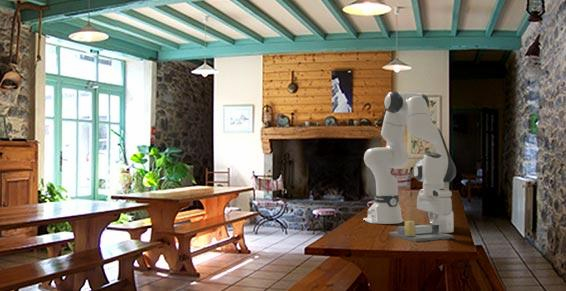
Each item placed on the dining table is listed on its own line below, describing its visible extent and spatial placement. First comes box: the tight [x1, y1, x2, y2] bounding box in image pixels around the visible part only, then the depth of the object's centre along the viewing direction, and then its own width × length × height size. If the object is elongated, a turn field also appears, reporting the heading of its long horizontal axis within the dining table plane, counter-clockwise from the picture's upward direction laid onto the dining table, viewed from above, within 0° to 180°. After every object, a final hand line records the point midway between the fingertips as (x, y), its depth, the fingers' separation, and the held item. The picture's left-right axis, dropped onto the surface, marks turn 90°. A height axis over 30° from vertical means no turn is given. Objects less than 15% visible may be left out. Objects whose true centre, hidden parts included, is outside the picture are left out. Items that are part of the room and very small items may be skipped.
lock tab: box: [404, 220, 416, 236], centre depth 232 cm, size 3×3×6 cm
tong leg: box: [415, 223, 439, 234], centre depth 239 cm, size 12×2×3 cm, turn 109°
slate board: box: [388, 230, 454, 242], centre depth 238 cm, size 20×19×1 cm
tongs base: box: [397, 223, 433, 236], centre depth 239 cm, size 6×17×3 cm, turn 111°
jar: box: [432, 207, 455, 234], centre depth 251 cm, size 9×8×12 cm
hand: (433, 223), depth 236 cm, fingers closed
